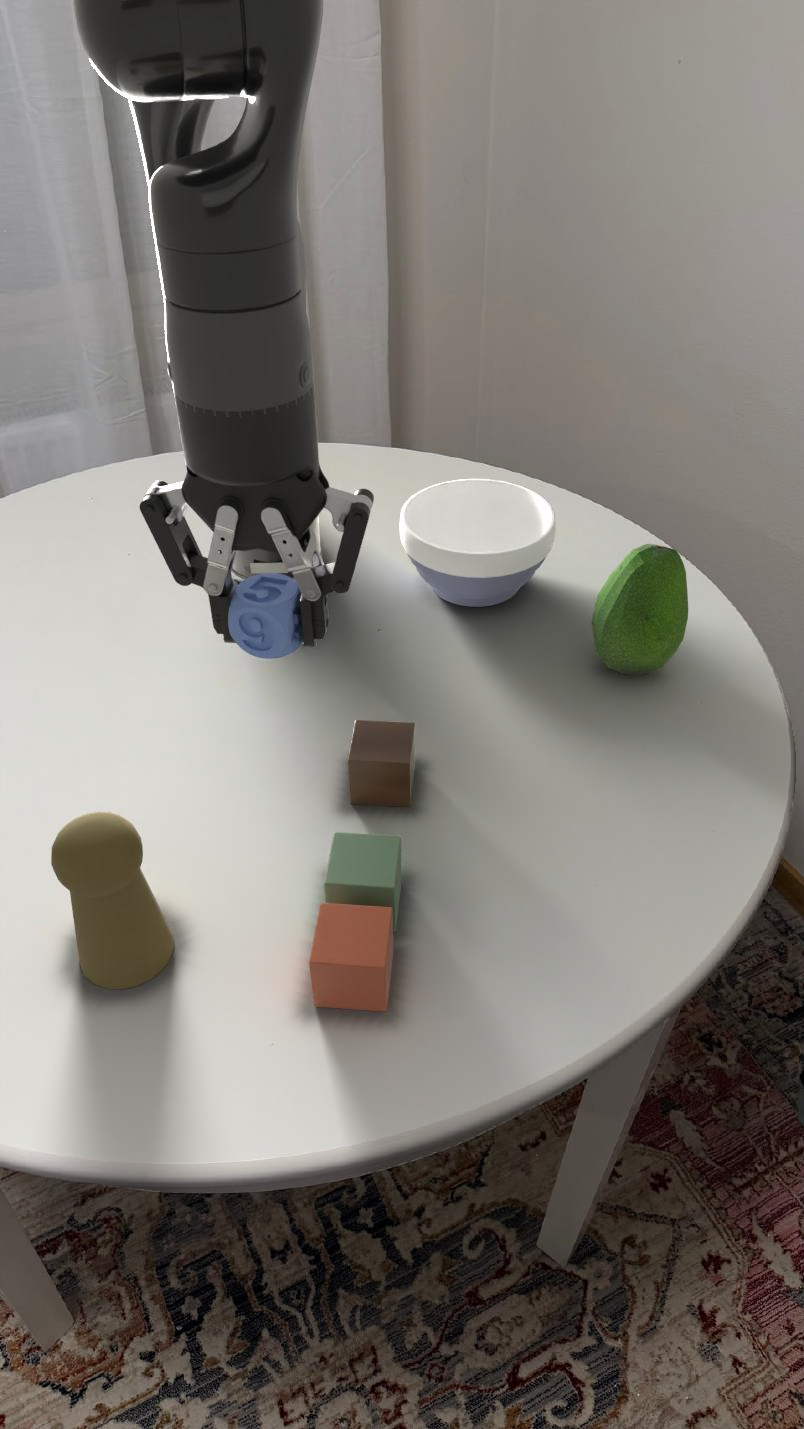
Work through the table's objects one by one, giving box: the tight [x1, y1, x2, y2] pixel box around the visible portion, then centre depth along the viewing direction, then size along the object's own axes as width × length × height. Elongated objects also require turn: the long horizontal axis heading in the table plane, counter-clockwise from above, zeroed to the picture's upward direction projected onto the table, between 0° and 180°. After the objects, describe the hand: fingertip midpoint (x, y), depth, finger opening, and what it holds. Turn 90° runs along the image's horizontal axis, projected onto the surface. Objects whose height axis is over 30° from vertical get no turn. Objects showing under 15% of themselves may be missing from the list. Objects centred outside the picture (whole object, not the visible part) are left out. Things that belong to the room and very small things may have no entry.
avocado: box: [591, 543, 689, 675], centre depth 84 cm, size 8×8×12 cm
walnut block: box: [347, 719, 416, 808], centre depth 75 cm, size 4×4×4 cm
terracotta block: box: [308, 902, 395, 1013], centre depth 62 cm, size 4×4×4 cm
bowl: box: [398, 478, 557, 608], centre depth 95 cm, size 14×14×8 cm
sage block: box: [323, 831, 403, 933], centre depth 66 cm, size 4×4×4 cm
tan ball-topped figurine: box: [50, 811, 175, 990], centre depth 62 cm, size 6×6×11 cm
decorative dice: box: [228, 573, 304, 660], centre depth 64 cm, size 4×4×4 cm
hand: (272, 636), depth 65 cm, fingers closed on decorative dice, 4 cm apart
